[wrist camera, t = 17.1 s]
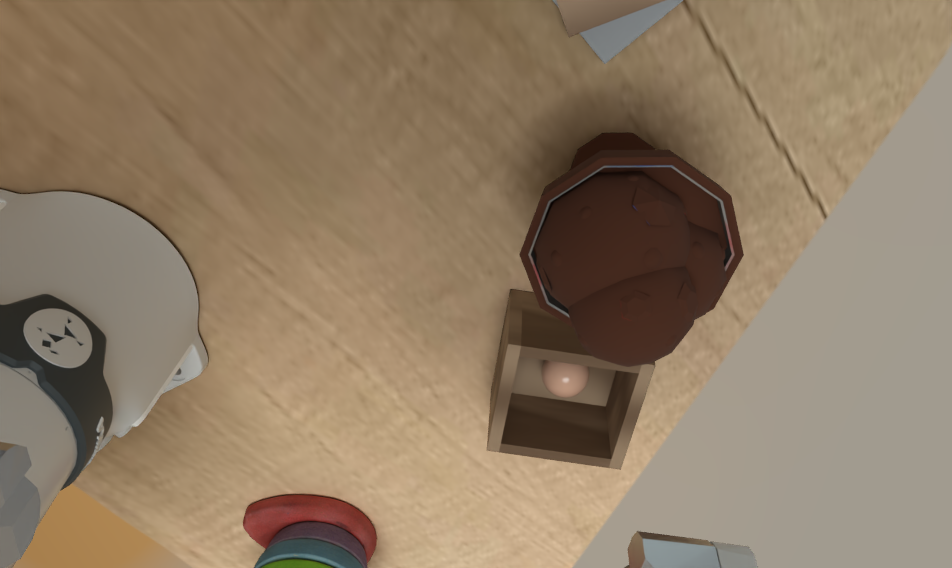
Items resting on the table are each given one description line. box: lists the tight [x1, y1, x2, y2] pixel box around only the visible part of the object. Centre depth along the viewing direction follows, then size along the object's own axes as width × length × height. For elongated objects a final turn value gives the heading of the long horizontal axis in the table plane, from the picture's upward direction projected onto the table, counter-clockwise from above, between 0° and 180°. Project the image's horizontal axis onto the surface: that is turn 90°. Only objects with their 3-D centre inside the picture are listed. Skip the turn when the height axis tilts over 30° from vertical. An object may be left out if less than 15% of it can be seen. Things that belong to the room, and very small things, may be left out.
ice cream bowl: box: [520, 133, 744, 367], centre depth 42 cm, size 11×11×15 cm
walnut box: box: [487, 289, 655, 470], centre depth 53 cm, size 9×9×6 cm
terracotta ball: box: [541, 360, 589, 398], centre depth 54 cm, size 3×3×3 cm
